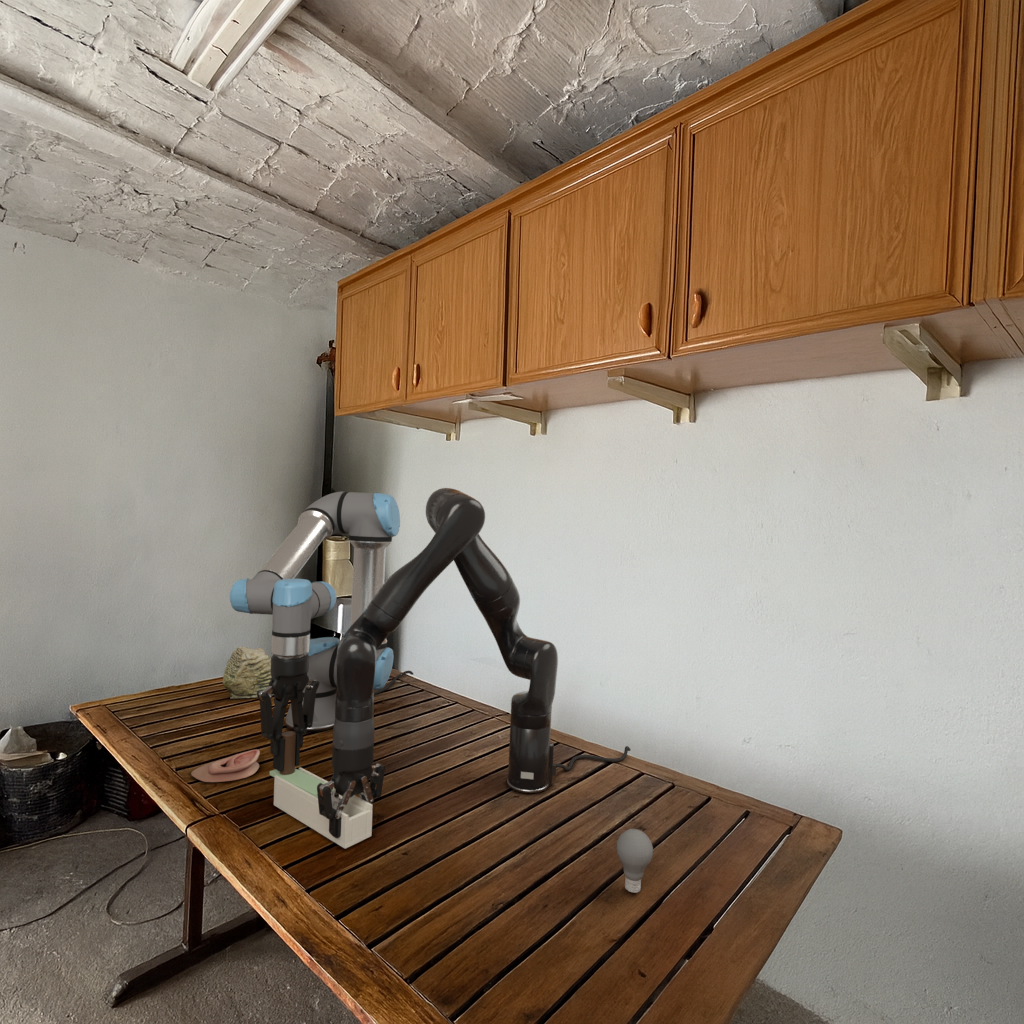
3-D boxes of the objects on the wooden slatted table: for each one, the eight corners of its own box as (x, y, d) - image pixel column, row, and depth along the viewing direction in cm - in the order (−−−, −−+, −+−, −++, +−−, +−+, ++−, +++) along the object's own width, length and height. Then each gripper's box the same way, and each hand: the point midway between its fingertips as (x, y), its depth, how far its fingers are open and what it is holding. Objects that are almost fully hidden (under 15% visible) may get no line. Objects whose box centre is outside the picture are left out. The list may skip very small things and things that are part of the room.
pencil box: (273, 805, 130) (274, 775, 129) (299, 795, 134) (300, 767, 134) (345, 848, 114) (346, 816, 114) (371, 836, 119) (372, 804, 119)
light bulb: (610, 879, 108) (613, 822, 108) (644, 879, 109) (647, 822, 109) (619, 902, 102) (622, 840, 102) (655, 901, 103) (658, 840, 103)
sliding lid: (269, 775, 132) (270, 732, 132) (288, 768, 135) (289, 727, 135) (315, 798, 122) (316, 753, 122) (334, 791, 125) (335, 746, 125)
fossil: (218, 695, 195) (220, 647, 195) (278, 685, 208) (279, 640, 207) (228, 703, 189) (230, 653, 188) (289, 692, 201) (290, 645, 201)
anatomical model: (182, 760, 139) (216, 741, 150) (181, 778, 139) (216, 758, 150) (236, 768, 136) (267, 748, 147) (235, 786, 136) (266, 765, 147)
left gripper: (313, 645, 140) (309, 750, 140) (244, 657, 127) (239, 772, 128) (333, 651, 135) (329, 760, 136) (264, 664, 123) (259, 784, 123)
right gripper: (371, 725, 126) (368, 809, 126) (308, 745, 115) (305, 837, 115) (396, 735, 121) (393, 822, 122) (332, 757, 110) (329, 852, 110)
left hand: (286, 766), depth 132 cm, fingers closed on sliding lid, 3 cm apart
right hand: (350, 829), depth 118 cm, fingers closed on pencil box, 6 cm apart
